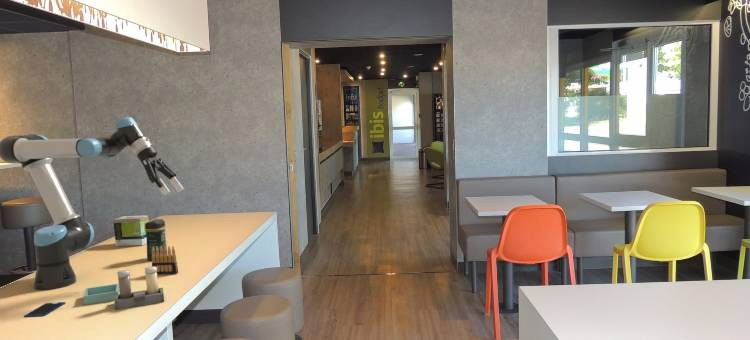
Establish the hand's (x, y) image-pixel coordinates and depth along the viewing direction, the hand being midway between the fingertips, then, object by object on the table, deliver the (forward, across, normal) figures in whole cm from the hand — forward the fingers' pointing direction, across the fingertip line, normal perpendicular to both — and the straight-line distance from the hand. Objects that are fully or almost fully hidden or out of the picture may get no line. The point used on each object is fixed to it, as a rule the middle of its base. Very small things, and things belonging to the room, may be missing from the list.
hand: (174, 192), depth 232 cm
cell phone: (+14, -38, +48) cm, 63 cm away
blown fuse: (+28, -34, +24) cm, 51 cm away
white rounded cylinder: (+33, -30, +18) cm, 48 cm away
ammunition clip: (+25, +4, +26) cm, 36 cm away
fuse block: (+30, -32, +21) cm, 49 cm away
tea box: (-2, +64, +61) cm, 88 cm away
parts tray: (+21, -26, +35) cm, 49 cm away
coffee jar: (+15, +31, +38) cm, 52 cm away
